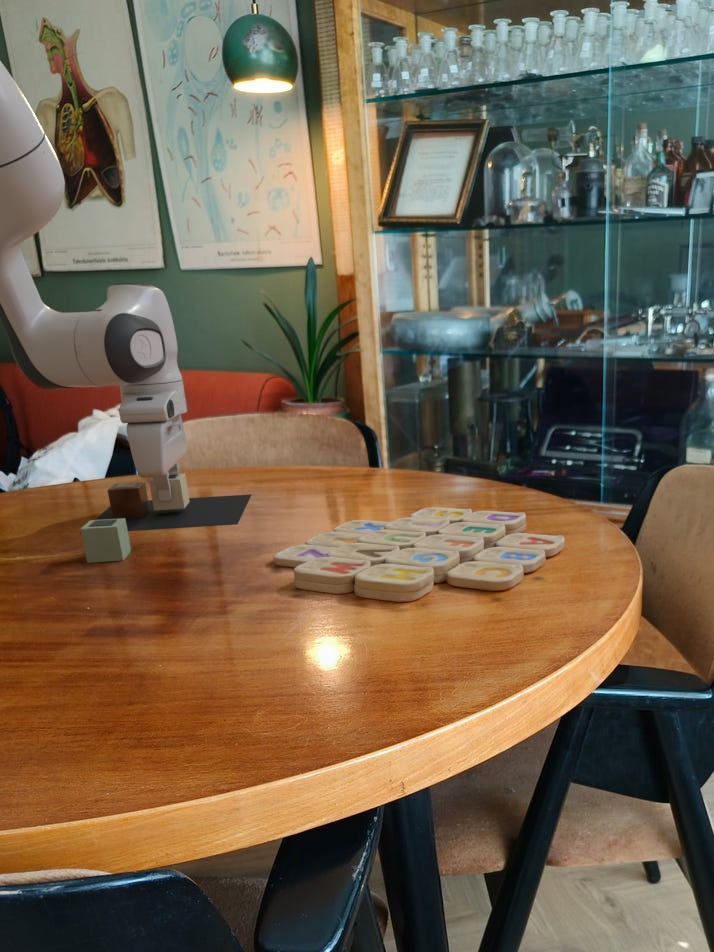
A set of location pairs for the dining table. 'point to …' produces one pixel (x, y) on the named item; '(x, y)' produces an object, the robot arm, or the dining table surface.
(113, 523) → the olive open-top cube
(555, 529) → the dining table surface
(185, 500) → the beige hollow cube
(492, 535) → the alphabet tiles
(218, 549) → the dining table surface
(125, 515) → the dark chocolate cube
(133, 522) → the word mat
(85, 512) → the dining table surface
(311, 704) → the dining table surface
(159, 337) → the robot arm
